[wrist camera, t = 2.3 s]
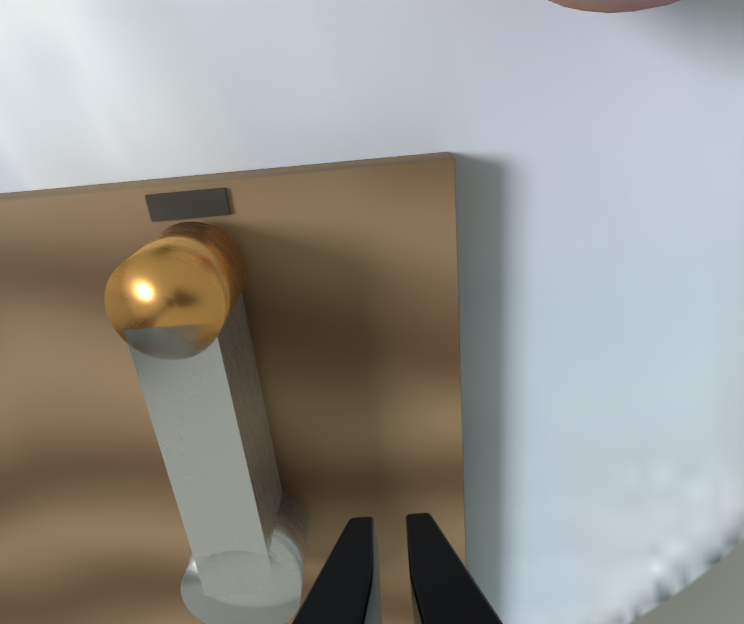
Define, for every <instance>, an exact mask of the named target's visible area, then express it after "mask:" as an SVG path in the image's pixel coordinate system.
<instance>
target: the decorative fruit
mask: <svg viewBox="0 0 744 624" xmlns="http://www.w3.org/2000/svg"><path fill="white" fill-rule="evenodd" d="M549 1H551V2H554V3H556V4H559V5H561V6H564V7H568V8H573V9H578V10H582V11H592V12H604V13H617V12H631V11H638V10H643V9H648V8H653V7H658V6H664V5H668V4H671V3H674V2H676V1H679V0H549Z"/></svg>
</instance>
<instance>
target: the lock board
mask: <svg viewBox="0 0 744 624" xmlns="http://www.w3.org/2000/svg"><path fill="white" fill-rule="evenodd" d="M192 221H193V222H201V223H206V224H209V225H212V226H214V227H216V228H218V229H220V230H221V231H223V232H224V233H226V234H227V235H228V236H229V237H230V238H231V239H232V240H233V241H234V242H235V243H236V244H237V246H238V247H239V249H240V250H241V252H242V254H243V257H244V259H245V263H246V269H247V279H246V284H245V287H244V290H243V292H242V296H243V301H244V306H245V311H246V316H247V321H248V326H249V331H250V336H251V340H252V345H253V350H254V355H255V360H256V365H257V370H258V375H259V380H260V385H261V390H262V395H263V400H264V405H265V409H266V414H267V419H268V424H269V429H270V434H271V439H272V444H273V449H274V454H275V459H276V464H277V469H278V473H279V478H280V483H281V488H282V492H284V493H286V494H288V495H290V496H291V497H292V498H294V499H295V500H296V501H297V502H298V503H299V504H300V505H301V506H302V507H303V509H304V510H305V512H306V514H307V516H308V519H309V524H310V532H309V540H308V547H307V555H306V562H305V570H304V577H303V585H302V592H301V600H300V604H299V607H298V610H297V612H298V611H299V609H300V607H301V605H302V603H303V602H304V600H305V598H306V596H307V594H308V593H309V591H310V589H311V587H312V585H313V584H314V582H315V580H316V578H317V576H318V575H319V573H320V571H321V569H322V567H323V566H324V564H325V562H326V560H327V558H328V556H329V555H330V553H331V551H332V549H333V547H334V546H335V544H336V542H337V540H338V538H339V537H340V535H341V533H342V531H343V529H344V528H345V526H346V524H347V522H348V521H349V520H350V519H351V518H354V517H368V516H371V517H373V518H374V520H375V525H376V534H377V543H378V551H379V564H380V588H381V613H382V624H414V620H413V608H412V597H411V585H410V574H409V561H408V547H407V533H406V515H408V514H412V513H429V514H431V515H432V517H433V518H434V520H435V521H436V523H437V524H438V526H439V527H440V529H441V530H442V532H443V533H444V535H445V536H446V538H447V539H448V541H449V542H450V544H451V545H452V547H453V549H454V550H455V552H456V553H457V555H458V556H459V558H460V559H461V561H462V562H463V564H464V565H465V567H466V552H465V517H464V482H463V447H462V412H461V376H460V341H459V306H458V271H457V236H456V201H455V166H454V158H453V157H452V156H451V155H450V154H449V153H448V152H441V153H430V154H420V155H409V156H398V157H387V158H377V159H366V160H355V161H345V162H334V163H323V164H312V165H302V166H291V167H280V168H270V169H259V170H248V171H238V172H227V173H216V174H205V175H195V176H184V177H173V178H163V179H152V180H141V181H130V182H120V183H109V184H98V185H88V186H77V187H66V188H55V189H45V190H34V191H23V192H13V193H2V194H0V624H205V623H203V622H201V621H200V620H199V619H197V618H196V617H195V616H194V615H193V614H192V613H191V612H190V611H189V610H188V608H187V607H186V605H185V604H184V601H183V599H182V595H181V581H182V578H183V576H184V573H185V570H186V567H187V565H188V562H189V559H190V557H191V554H192V551H191V548H190V544H189V541H188V538H187V535H186V531H185V528H184V525H183V522H182V518H181V515H180V512H179V509H178V505H177V502H176V499H175V496H174V492H173V489H172V486H171V483H170V479H169V476H168V473H167V470H166V466H165V463H164V460H163V457H162V453H161V450H160V447H159V444H158V440H157V437H156V434H155V431H154V427H153V424H152V421H151V417H150V414H149V411H148V408H147V404H146V401H145V398H144V395H143V391H142V388H141V385H140V382H139V378H138V375H137V372H136V369H135V365H134V362H133V359H132V356H131V352H130V349H129V346H128V343H126V342H125V341H124V340H123V339H122V338H121V337H120V336H119V334H118V333H117V332H116V331H115V329H114V328H113V326H112V324H111V322H110V320H109V318H108V315H107V312H106V308H105V300H104V299H105V289H106V285H107V282H108V280H109V278H110V276H111V274H112V273H113V272H114V271H115V269H116V268H117V267H118V266H119V265H121V264H122V263H123V262H124V261H125V260H127V259H128V258H129V257H131V256H132V255H133V254H134V253H136V252H137V251H138V250H139V249H141V248H142V247H143V246H144V245H146V244H147V243H148V242H149V241H151V240H152V239H153V238H154V237H156V236H157V235H158V234H160V233H161V232H162V231H163V230H165V229H166V228H168V227H170V226H172V225H174V224H177V223H181V222H192ZM297 612H296V613H295V614H294V616H293V617H292V618H291V619H290V620H289V621H288V622H286V623H285V624H291V623H292V621H293V620H294V618H295V616H296V614H297Z"/></svg>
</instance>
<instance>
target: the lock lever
mask: <svg viewBox="0 0 744 624" xmlns="http://www.w3.org/2000/svg"><path fill="white" fill-rule="evenodd" d="M246 279H247V269H246V263H245V259H244V257H243V254H242V252H241V250H240V249H239V247H238V246H237V244H236V243H235V242H234V241H233V240H232V239H231V238H230V237H229V236H228V235H227V234H226V233H224V232H223V231H221V230H220V229H218V228H216V227H214V226H212V225H209V224H206V223H201V222H193V221H192V222H181V223H177V224H174V225H172V226H170V227H168V228H166V229H165V230H163V231H162V232H161V233H160V234H158V235H157V236H156V237H154V238H153V239H152V240H151V241H149V242H148V243H147V244H146V245H144V246H143V247H142V248H141V249H139V250H138V251H137V252H136V253H134V254H133V255H132V256H131V257H129V258H128V259H127V260H125V261H124V262H123V263H122V264H121V265H119V266H118V267H117V268H116V269H115V271H114V272H113V273H112V274H111V276H110V278H109V280H108V282H107V285H106V289H105V299H104V300H105V308H106V312H107V315H108V318H109V320H110V322H111V324H112V326H113V328H114V329H115V331H116V332H117V333H118V334H119V336H120V337H121V338H122V339H123V340H124V341H125V342H126V343H128V346H129V349H130V352H131V356H132V359H133V362H134V365H135V369H136V372H137V375H138V378H139V382H140V385H141V388H142V391H143V395H144V398H145V401H146V404H147V408H148V411H149V414H150V417H151V421H152V424H153V427H154V431H155V434H156V437H157V440H158V444H159V447H160V450H161V453H162V457H163V460H164V463H165V466H166V470H167V473H168V476H169V479H170V483H171V486H172V489H173V492H174V496H175V499H176V502H177V505H178V509H179V512H180V515H181V518H182V522H183V525H184V528H185V531H186V535H187V538H188V541H189V544H190V548H191V551H192V554H191V557H190V559H189V562H188V565H187V567H186V570H185V573H184V576H183V578H182V581H181V595H182V599H183V601H184V604H185V605H186V607H187V608H188V610H189V611H190V612H191V613H192V614H193V615H194V616H195V617H196V618H197V619H199V620H200V621H201V622H203V623H205V624H285V623H286V622H288V621H289V620H290V619H291V618H292V617H293V616H294V614H295V613H296V612H297V610H298V607H299V604H300V600H301V592H302V585H303V577H304V570H305V562H306V555H307V547H308V540H309V532H310V524H309V519H308V516H307V514H306V512H305V510H304V509H303V507H302V506H301V505H300V504H299V503H298V502H297V501H296V500H295V499H294V498H292V497H291V496H290V495H288V494H286V493H284V492H282V488H281V483H280V478H279V473H278V469H277V464H276V459H275V454H274V449H273V444H272V439H271V434H270V429H269V424H268V419H267V414H266V409H265V405H264V400H263V395H262V390H261V385H260V380H259V375H258V370H257V365H256V360H255V355H254V350H253V345H252V340H251V336H250V331H249V326H248V321H247V316H246V311H245V306H244V301H243V296H242V292H243V290H244V287H245V284H246Z"/></svg>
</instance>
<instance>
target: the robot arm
mask: <svg viewBox="0 0 744 624" xmlns="http://www.w3.org/2000/svg"><path fill="white" fill-rule="evenodd" d="M406 533H407V547H408V561H409V574H410V585H411V597H412V608H413V620H414V624H503V623H502V621H501V620H500V618H499V617H498V615H497V614H496V612H495V611H494V609H493V608H492V606H491V605H490V603H489V602H488V600H487V599H486V597H485V596H484V594H483V593H482V591H481V590H480V588H479V586H478V585H477V583H476V582H475V580H474V579H473V577H472V576H471V574H470V573H469V571H468V570H467V568H466V567H465V565H464V564H463V562H462V561H461V559H460V558H459V556H458V555H457V553H456V552H455V550H454V549H453V547H452V545H451V544H450V542H449V541H448V539H447V538H446V536H445V535H444V533H443V532H442V530H441V529H440V527H439V526H438V524H437V523H436V521H435V520H434V518H433V517H432V515H431V514H429V513H412V514H408V515H406ZM291 624H382V613H381V588H380V564H379V551H378V543H377V534H376V525H375V520H374V518H373V517H371V516H368V517H354V518H351V519H350V520H349V521H348V522H347V524H346V526H345V528H344V529H343V531H342V533H341V535H340V537H339V538H338V540H337V542H336V544H335V546H334V547H333V549H332V551H331V553H330V555H329V556H328V558H327V560H326V562H325V564H324V566H323V567H322V569H321V571H320V573H319V575H318V576H317V578H316V580H315V582H314V584H313V585H312V587H311V589H310V591H309V593H308V594H307V596H306V598H305V600H304V602H303V603H302V605H301V607H300V609H299V611H298V612H297V614H296V616H295V618H294V620H293V621H292V623H291Z"/></svg>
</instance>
